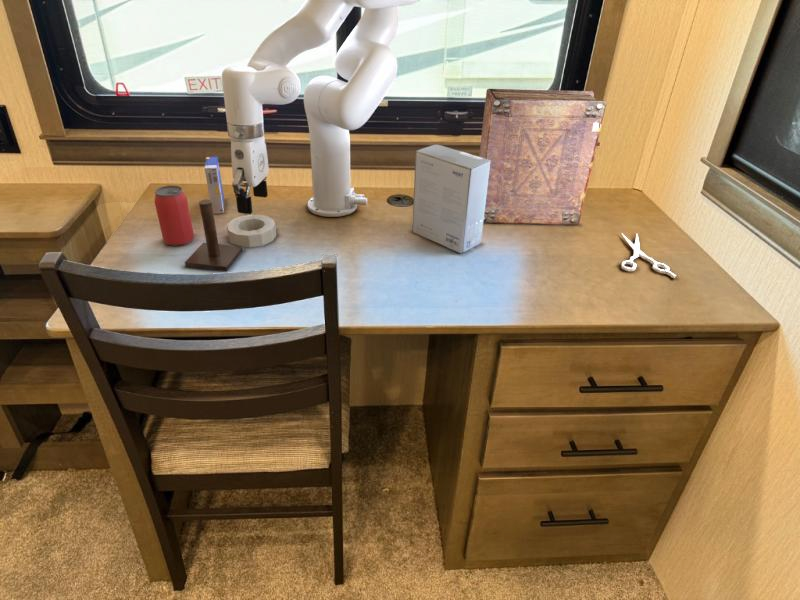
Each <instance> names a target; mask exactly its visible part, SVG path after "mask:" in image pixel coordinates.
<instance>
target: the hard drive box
mask: <svg viewBox="0 0 800 600" xmlns="http://www.w3.org/2000/svg"><path fill="white" fill-rule="evenodd" d="M414 155H415V156H414V179H413V181H414V182H413V205H412V228H411V232H412V233H414V234H417V235H419V236H420V237H423V238H424V239H428V240H430V241H432V242H434V243H437V244H439V245H441V246H442V247H443V246H444V247H446V248H447V249H450V250H452V251H454V252H457V253H459V254H464V253H466V252H467V251H470V250H471V249H473V248H475V247H477V246H478V245H480V244H482V237H483V227H484V223H483V221H484V212H485V204H486V196H487V187H488V178H489V170H490V162H491V160H488V159H484V158H481V157H479V155H475V154H471V153H468V152H465V151H461V150H458V149H454V148H451V147H448V146H443V145H440V144H437V143H435V144H432V145H429V146H426V147H423V148H421V149H418V150H415V154H414Z"/></svg>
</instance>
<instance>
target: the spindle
mask: <svg viewBox="0 0 800 600" xmlns="http://www.w3.org/2000/svg"><path fill="white" fill-rule="evenodd" d="M198 205H199V210H200V216H201V221H202V228H203V233H204V238H205V242H202V243H201V244H200V245H199V247H197V248H196V250H195V251H194V252H193V253H192V254H191V255H190V256H189V257H188V258H187V259H186V260H185V262H184V266H185V268H190V269H197V270H207V271H208V270H209V271H217V272H228V271H229V269H230V268H231V267H232V266H233V265H234V263H235V262H236V261H237V260H238V258H239V257H240V256H241V254H242V253H243V252H244V247H242V246H237V245H234V244H224V243H219V237H218V232H217V227H216V220H215V216H214V214H215V213H213V208H212V202H211V200H210V199H202V200H199V202H198Z"/></svg>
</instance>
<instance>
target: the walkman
mask: <svg viewBox="0 0 800 600" xmlns="http://www.w3.org/2000/svg"><path fill="white" fill-rule="evenodd" d="M204 172H205V178H206V185H207V190H208V196H209V200H211V202H212V208H213V214H224V212H225V196H224V195H225V194H224V190H223V189H224V188H223V182H222V177H221V170H220V164H219V156H206V157H205V162H204Z"/></svg>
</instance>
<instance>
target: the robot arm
mask: <svg viewBox="0 0 800 600" xmlns="http://www.w3.org/2000/svg"><path fill="white" fill-rule="evenodd" d="M418 2H420V0H305V1H304V2H303V3H302V5H301V6H300V8H299V9H298V10H297V11H296V13H295V14H294V15H292V16H291V17H290V18H288V19H286V20H285V21H284V22H283V23H281V24H280V25H279V26H278V27H277V28H276V29H274V30H273V31H271V32H270V33H269V34H268V35H267V36H266V38H264V39H263V41H262V42H261V43H260V44H259V46H258V48H257V49H256V50H255V51H254V53H253V55H252V56H251V58H250V60H249V61H248V63H247V65H246V66H244V65H235V66H229V67H226V68H224V69H223V70H222V72H221V84H222V91H223V92H222V93H223V101H224V108H225V110H224V111H225V118H226V127H227V135H228V139H230V159H231V171H232V183H231V186H232V189H233V193H234V196H235V200H236V209H237V213H238V214H244V215H253V203H252V196H250V193H251V187H252V191H253V196H254V197H258V198H264V199H265V198H267V197H268V187H267V186H268V183H267V179H268V178H267V176H268V175H269V173H270V167H269V158H268V150H267V143H266V138H265V136H266V134H265V125H264V124H265V123H264V110H263V105H277V106H278V105H279V106H280V105H287V104H291V103H293V102H295V101H296V100H297V98H298V97H299V96H300V93H301V92H302V91H301V90H302V85H301V83H302V82H301V80H300V78H299V76H298V75H297V73H296V72H294V71H293V70H292V69H290V68H289V67H287V66H288V64H290V62H291V61H292V60H294V59H295V58H296V57H297V56H299V55H301V54H302V53H304V52H307V51H310V50H313V49H317V48H320V47H321V46H324V45H326V44H328V43H330V42H331V41H332V39H333V38H334V36H335V34H337V32H338V31H339V29H340V27H341V26H342V24H343V23H344V22H345V20H346V18H347V17H348V16H349V14H350V13H351V11H352V10H353V9H354V7H357V8H361V9H364V11H363V13H362V15H361V16H360V19H359V20H358V22H357V24H356V25H355V27H354V28H353V29H352V31H351V32H350V34H349V35H348V36H347V37H346V39H345V41H344V42H343V43H342V45H341V46H340V48H339V49H338V51H337V53H336V54H335V57H334V67H335V71H336V72H337V74H338V75H339V76H340V77H341V78H343V79H344V80H346V81H347V82H346V81H344V80H342V79H338V78H336V77H334V76H333V77H332V76H329V75H320V76H316V77H314V78H312V79H311V80H310V81H309V82H308V83H307V85H306V86H305V88H304V91H303V106H304V112H305V116H306V120H307V125H308V126H307V127H308V133H309V147H310V149H309V150H310V165H311V180H312V181H311V182H312V197H311V198H310V199H309V200H308V201H307V209H308V211H309V212H311V213H312V214H314V215H317V216H320V217H324V218H327V217H328V218H337V217H343V216H347V215H350V214H352V213H354V212H355V211H356V210H357V208H358V205H359V206H368V202H369V201H368V200H369V199H368V197H365V194H362V193H361V194H360V193H359V194H357V193H356V192H355V188H354V187H352V185H351V184H352V181H351V180H352V179H351V138H350V137H351V136H350V131H355V130H357V129H360V128H361V127H363V126H364V125H365V124H366V123H367V122H368V120H369V119H370V118H371V116H372V115H373V114H374V113H375V110H376V109H377V108H378V106H379V105H380V104H381V102H382V101H383V99H384V98H385V97H386V95H387V94H388V92H389V91H390V90H391V88H392V86H393V85H394V83H395V81H396V79H397V75H398V65H399V63H398V58H397V55H396V54H395V51H394V50H392V48H390V47H389V46H390V45H391V43H392V42H393V40H394V38H395V36H396V34H397V31H398V25H399V24H398V21H399V19H398V18H399V17H398V7H404V6H405V7H406V6H411V5H414V4H416V3H418ZM243 187H244V188H245V189H244V188H243Z"/></svg>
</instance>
